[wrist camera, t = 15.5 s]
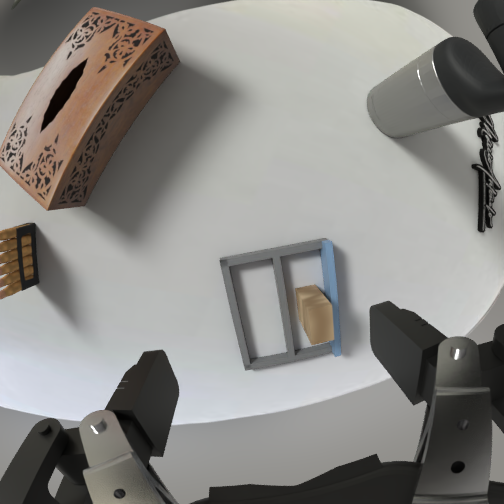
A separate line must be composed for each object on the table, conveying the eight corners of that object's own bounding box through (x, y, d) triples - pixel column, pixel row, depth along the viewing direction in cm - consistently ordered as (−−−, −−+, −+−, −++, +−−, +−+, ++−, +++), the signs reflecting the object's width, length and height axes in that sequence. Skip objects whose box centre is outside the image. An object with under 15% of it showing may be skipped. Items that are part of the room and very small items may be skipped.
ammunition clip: (28, 222, 36) (-19, 233, 24) (35, 223, 36) (-13, 233, 24) (32, 282, 38) (-10, 304, 26) (39, 283, 38) (-3, 306, 26)
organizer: (325, 238, 39) (331, 241, 36) (335, 345, 42) (341, 355, 39) (220, 258, 38) (218, 263, 35) (245, 365, 42) (245, 375, 39)
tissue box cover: (116, 35, 30) (93, 6, 21) (180, 62, 33) (165, 28, 23) (33, 164, 34) (-5, 161, 24) (85, 205, 36) (47, 210, 26)
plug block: (315, 284, 40) (332, 304, 32) (318, 314, 41) (334, 339, 33) (295, 288, 40) (308, 310, 32) (299, 318, 41) (311, 345, 33)
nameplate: (465, 92, 33) (492, 105, 34) (460, 93, 35) (488, 106, 35) (474, 232, 39) (500, 232, 39) (469, 231, 40) (495, 231, 41)
